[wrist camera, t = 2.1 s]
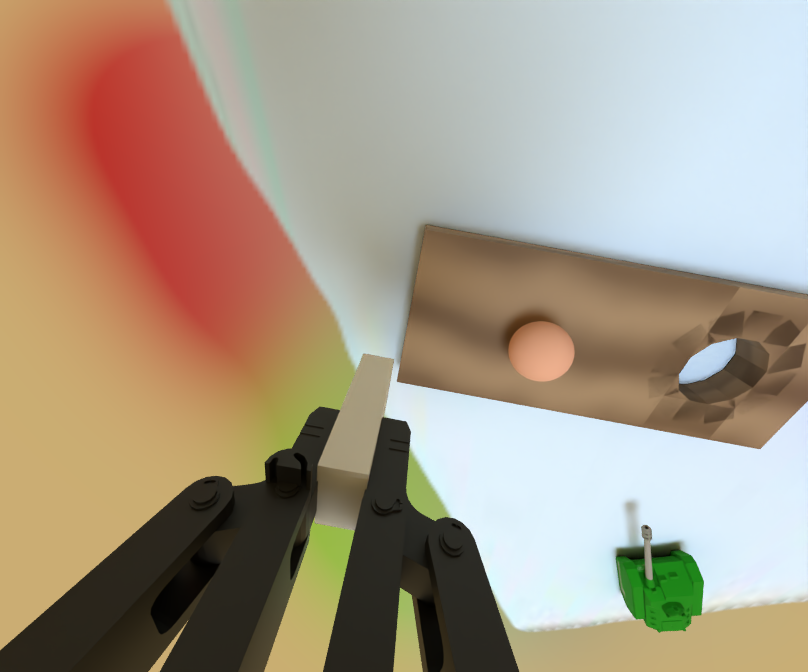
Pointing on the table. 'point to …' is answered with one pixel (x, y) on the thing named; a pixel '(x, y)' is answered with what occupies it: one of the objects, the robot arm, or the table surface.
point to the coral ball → (541, 351)
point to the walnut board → (606, 337)
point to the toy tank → (661, 587)
